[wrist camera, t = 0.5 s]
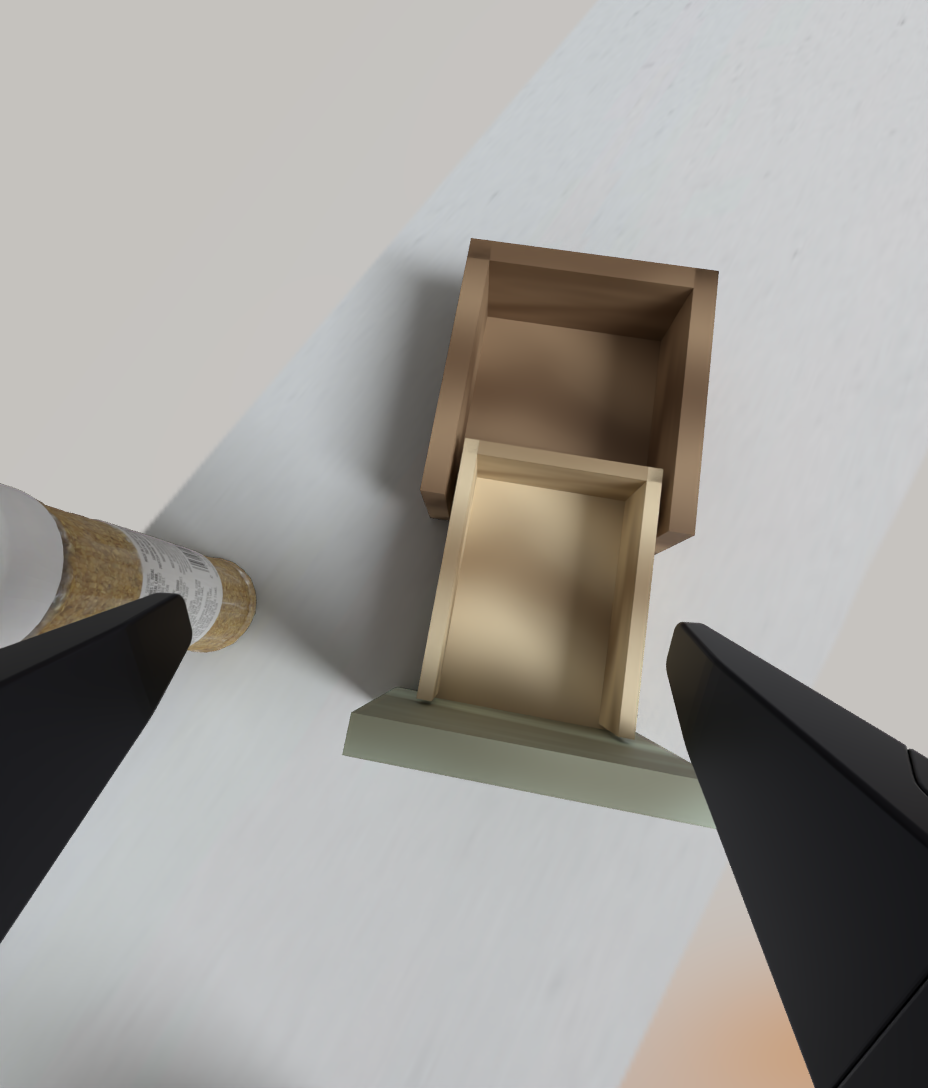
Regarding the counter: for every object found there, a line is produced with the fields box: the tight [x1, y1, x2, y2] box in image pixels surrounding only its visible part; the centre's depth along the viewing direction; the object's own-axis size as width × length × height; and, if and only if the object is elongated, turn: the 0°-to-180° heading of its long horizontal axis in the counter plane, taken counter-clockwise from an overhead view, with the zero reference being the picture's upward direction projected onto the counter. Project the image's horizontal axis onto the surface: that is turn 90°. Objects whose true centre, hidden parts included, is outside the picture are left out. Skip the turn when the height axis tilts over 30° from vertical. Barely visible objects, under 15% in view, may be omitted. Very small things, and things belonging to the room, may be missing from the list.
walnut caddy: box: [420, 238, 719, 555], centre depth 23 cm, size 12×11×4 cm
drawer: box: [342, 438, 716, 829], centre depth 19 cm, size 12×11×8 cm
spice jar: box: [0, 483, 256, 652], centre depth 17 cm, size 5×5×14 cm
